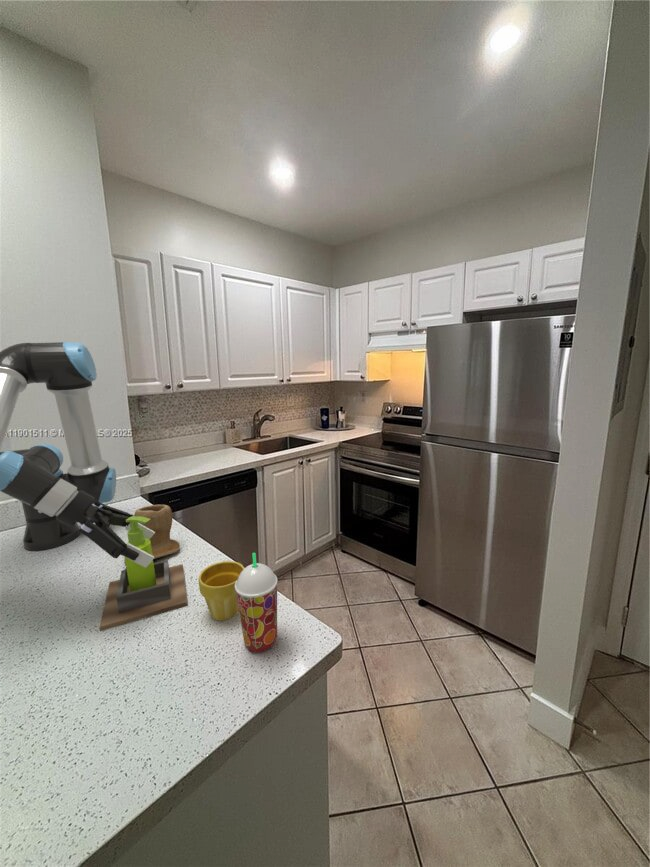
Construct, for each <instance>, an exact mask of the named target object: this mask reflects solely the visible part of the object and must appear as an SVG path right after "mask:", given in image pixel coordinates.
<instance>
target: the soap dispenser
mask: <svg viewBox="0 0 650 867" xmlns="http://www.w3.org/2000/svg"><path fill="white" fill-rule="evenodd" d="M149 520H150V519H149V518H146V517H140V516H133V517H130V518H128V519H126V522H130V527H131V530H129V531H128V530H127V533H126V534H127V541H128V542H127V543H126V544H127V545H128V544H129V543H130V544H131V545H133V546H135V547H137V548H139V549H141V550H143V551H145V552H147V553H148V554H150V555H152V548H151V541H150V540H149V539H144V533H143V529H142V528H139V526H138V523H143V524H145V523H146V522H148V521H149ZM124 558H125V562H126V566H125V568H126V570H127V575H128V581H129V588H130V592H132V591H136V590H140V589H143V588H147V587H151V586H155V585H156V577H155V570H154V563H155V562H154V559H153V560H152V561H151V562H150V564H149V565H148V566H147V567H146V568H145V567H143V566H141V565H139V564H137V563H136V562H134V561H132V560H130V559H128V558H126V557H124Z"/></svg>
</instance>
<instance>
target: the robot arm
mask: <svg viewBox="0 0 650 867" xmlns="http://www.w3.org/2000/svg"><path fill="white" fill-rule="evenodd" d="M96 380H97V368H96V364H95V362H94V359H93V356H92V355H91V353H90V351H89V349H88V348H87V347H86V346H85V345H84V344H82V343H80V342H71V341H70V342H69V341H67V342H66V341H64V342H63V341H59V342H21V343H16V344H13V345H10V346H8V347H6V348H4V349H3V350H1V351H0V450H1V449H2V446H3V444H4V440H5V438H6V435H7V430H8V428H9V425H10V423H11V418H12V417H13V413H14V410H15V408H16V404H17V401H18V398H19V395H20V393H23V392H24V391H25V390H26V388H27V386H28V385H30V384H45V386H46V390H47V391H49V392H50V393H52V394H53V395H54V396H55V397H54V398H55V402H56V406H57V409H58V414H59V418H60V419H59V420H60V422H61V425H62V426H61V427H62V431H63V435H64V440H65V444H66V447H67V452H68V456H69V460H70V465H69V467H68V469H67V472H65V473H64V471H63V470H62V469H61V466H62V464H63V463H64V456H63V453H62V451H61V450H60V449H59V448H58V447H56V446H54V445H52V444H48V443H43V444H42V443H41V444H37V445H33V446H31V447H30V448H27V449H26V448H25V449H17V450H6V451H0V492H1V493H3V494H4V495H7V496H10V497H11V498H13V499H15V500H17V501H19V502H21V506H22V508H23V514H24V518H25V523H26V526H25V530H24V534H23V535H24V536H23V539H22V542H23V543H22V544H23V547H24V549H25V550H26V551H32V552H33V551H34V552H35V551H44V550H49V549H52V548H58V547H60V546H63V545H66V544H67V543H70V542H72V541H73V540H75V539H77V538H78V537H79V536H80V534H82V535H83V536H85V537H87V538H89V539H90V540H91V541H92V542H93V543H95V544H96V545H97V546H98V547H99V548H101V549H102V551H104V552H106V553H107V554H108V555H109V556H111V558H113V559H118V558H119V557H120V556H122V557H124V558H125V557H126V558H128V559H130V560H132V561H134V562H136V563H137V564H139V565H141V566H143V567H145V568H146V567H147V566H148V565H149V564H150V562H151V561H152V560H153V561H154V560H155V559H154V556H152V555H150V554H148V553H147V552H145V551H143V550H141V549H139V548H137V547H135V546H133V545H131V544H130V543H129V544H128V545H127V543H126V542H125V541H124V539H122V538H121V537H120V536H119V535H118V534H117V533H116V532H115V531H114V530H113V528H111V526H117V527H124V528H125V530H126V531H127V532H128V531H129V530H131V527H130V522H126V519H128V518H130V517H133V516H134V515H135V514H134V515H133V514H132V513H129V512H126V511H124V510H121V509H118V508H115V507H113V506H110V505H106V504H104V503H109V502H111V501H113V499H114V498H115V496H116V495H115V494H116V490H117V488H116V487H117V472H116V468H115V467H110V466H109V462H108V461H106V460H104V459H103V457H102V454H101V449H100V444H99V440H98V434H97V430H96V424H95V419H94V415H93V410H92V405H91V404H92V403H91V401H90V395H89V391H90V389H91V388H92V387H93V383H92V382H94V381H96ZM78 524H80V525H81V526H79V525H78ZM138 526H139V528H142V529H143V533H144V539H150V538H151V537H152V536H153V535H154V534H155V532H154V531H152V530H150V529H149V528H147V527H145V526H143V525H142V524H140V523H138Z"/></svg>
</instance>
